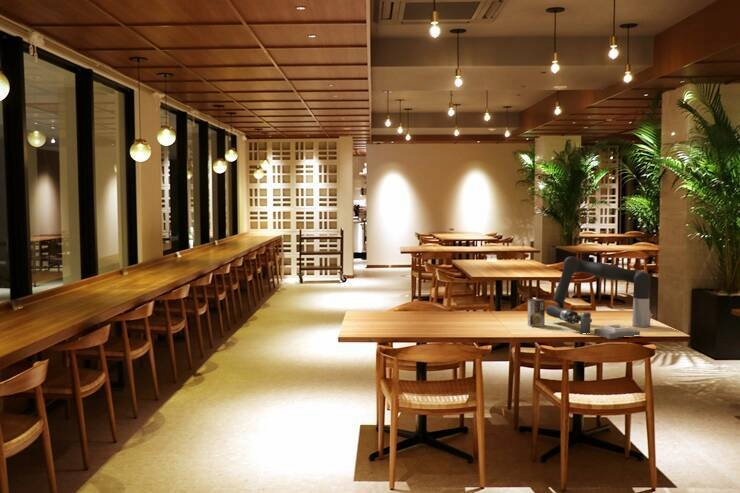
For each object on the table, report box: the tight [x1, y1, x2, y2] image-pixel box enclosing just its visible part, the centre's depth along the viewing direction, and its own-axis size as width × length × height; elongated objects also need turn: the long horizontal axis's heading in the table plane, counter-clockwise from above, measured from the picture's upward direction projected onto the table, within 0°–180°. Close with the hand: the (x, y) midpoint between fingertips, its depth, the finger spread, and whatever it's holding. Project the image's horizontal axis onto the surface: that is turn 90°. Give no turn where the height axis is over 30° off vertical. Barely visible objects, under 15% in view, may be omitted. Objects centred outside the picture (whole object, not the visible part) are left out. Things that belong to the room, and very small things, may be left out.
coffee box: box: [527, 298, 546, 327], centre depth 423 cm, size 9×6×16 cm
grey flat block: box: [593, 323, 641, 340], centre depth 396 cm, size 20×14×5 cm
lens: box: [579, 311, 592, 335], centre depth 401 cm, size 6×6×12 cm
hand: (584, 321), depth 401 cm, fingers open, 8 cm apart
